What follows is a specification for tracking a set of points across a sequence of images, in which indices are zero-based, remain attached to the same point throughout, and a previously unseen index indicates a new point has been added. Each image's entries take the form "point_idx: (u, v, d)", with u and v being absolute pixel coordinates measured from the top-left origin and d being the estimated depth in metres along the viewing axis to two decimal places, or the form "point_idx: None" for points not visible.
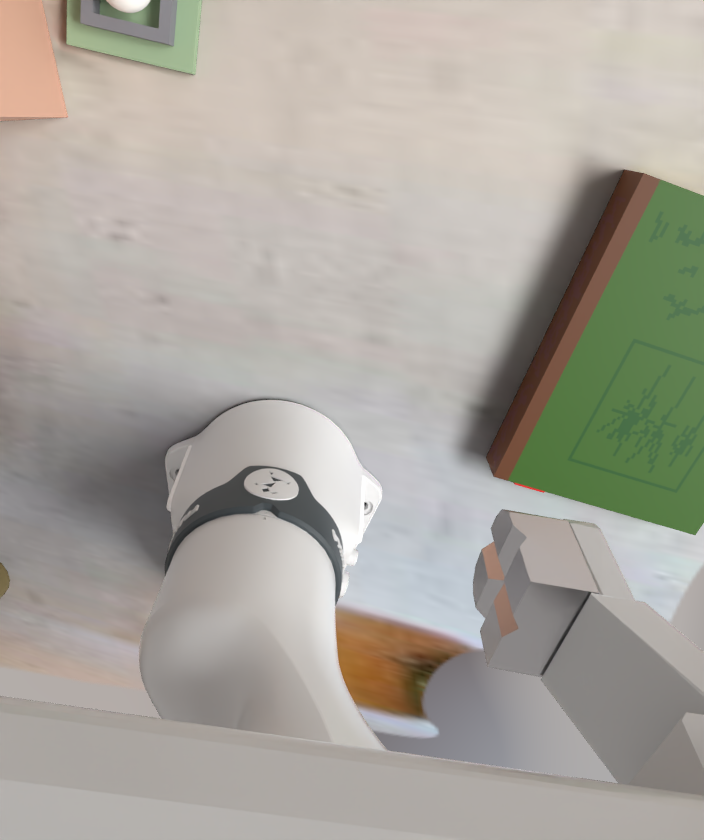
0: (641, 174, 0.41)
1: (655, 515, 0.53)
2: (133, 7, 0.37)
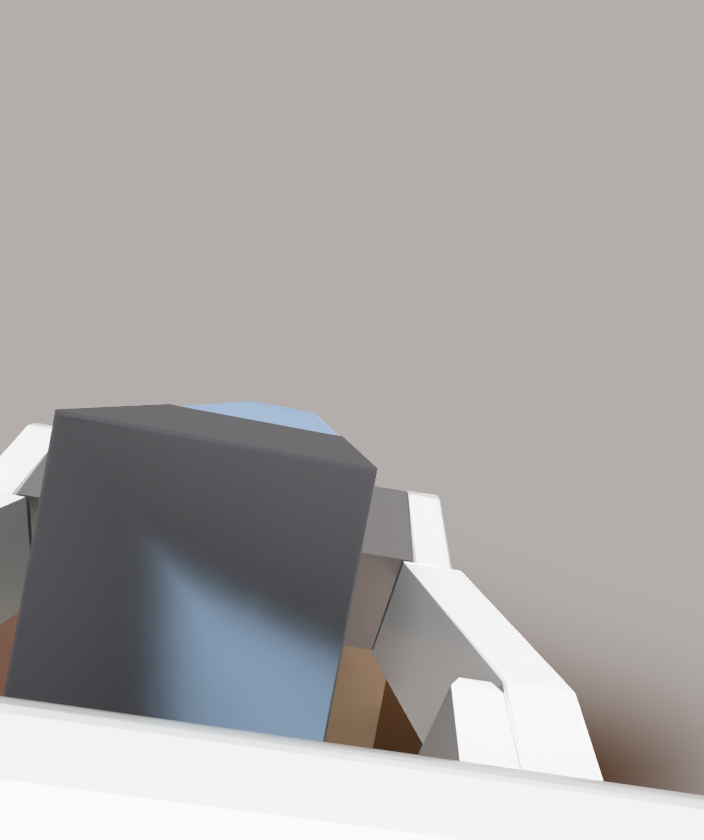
0: None
1: None
2: None
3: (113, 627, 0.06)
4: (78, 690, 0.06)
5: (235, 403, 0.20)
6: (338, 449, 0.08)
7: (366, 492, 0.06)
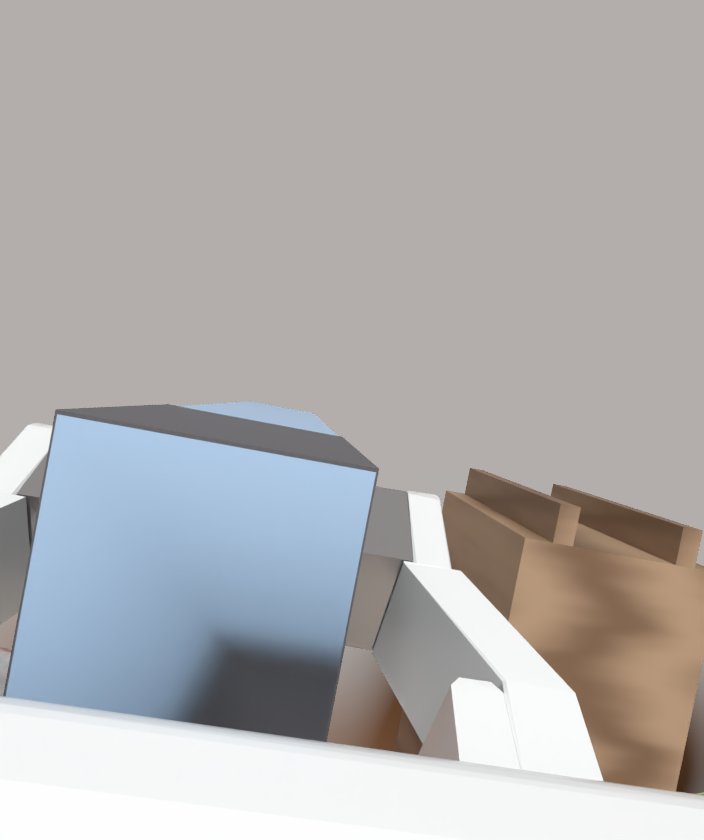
0: None
1: None
2: None
3: (112, 628, 0.06)
4: (78, 691, 0.06)
5: (234, 403, 0.20)
6: (339, 449, 0.08)
7: (367, 492, 0.06)
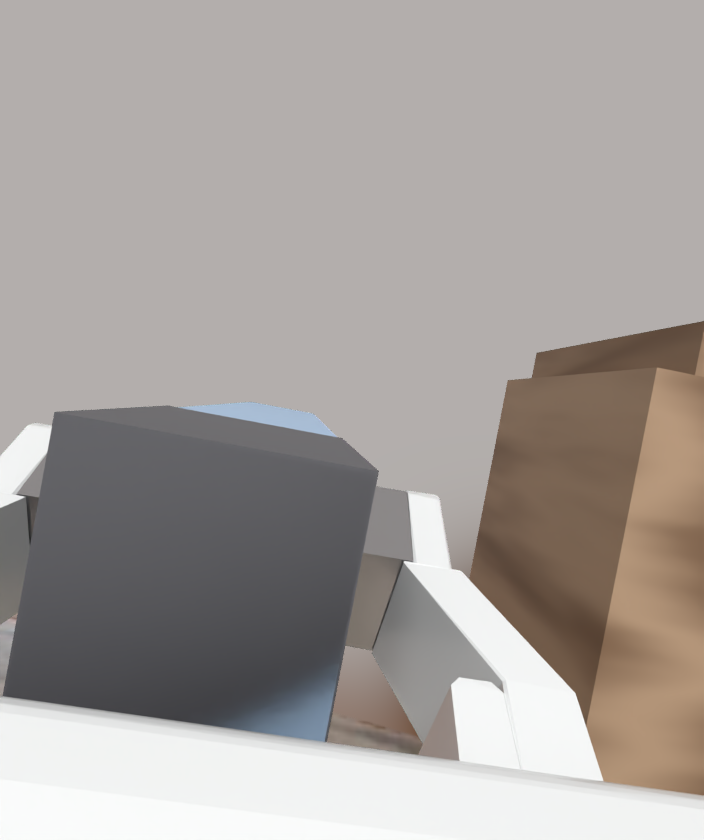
0: None
1: None
2: None
3: (112, 632, 0.06)
4: (77, 694, 0.06)
5: (233, 404, 0.20)
6: (338, 451, 0.08)
7: (367, 495, 0.06)
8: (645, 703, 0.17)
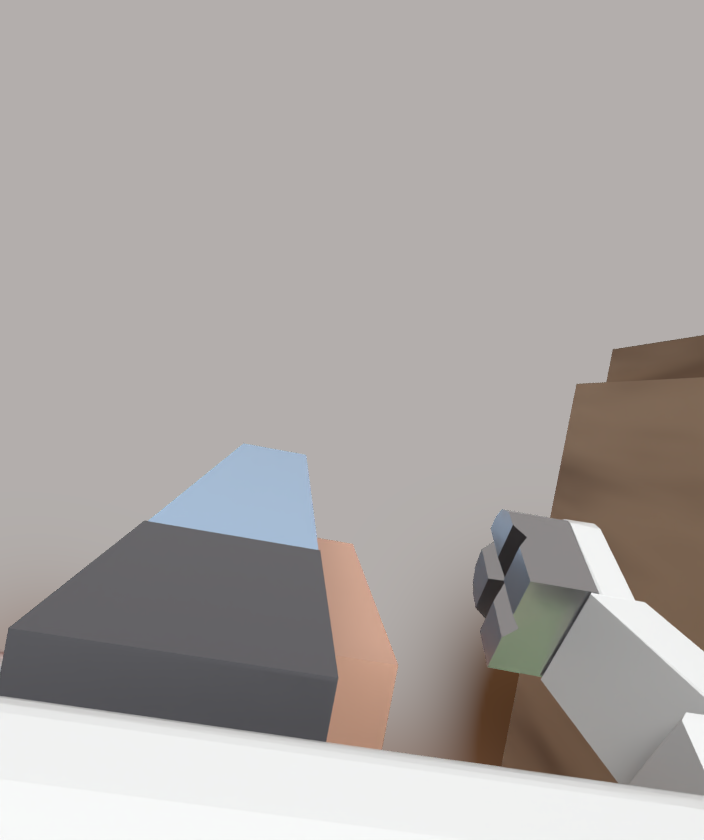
0: None
1: None
2: None
3: None
4: None
5: (222, 465, 0.20)
6: (306, 614, 0.07)
7: (327, 703, 0.06)
8: None
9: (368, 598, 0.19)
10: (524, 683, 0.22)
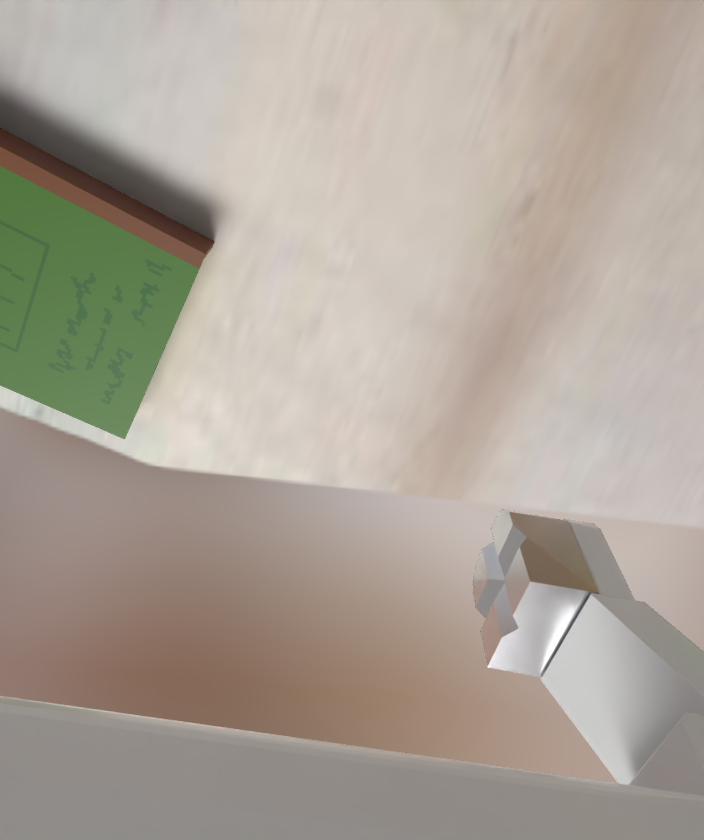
0: (204, 252, 0.46)
1: None
2: None
3: None
4: None
5: None
6: None
7: None
8: None
9: None
10: None
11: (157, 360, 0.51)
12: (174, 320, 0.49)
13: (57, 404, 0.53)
